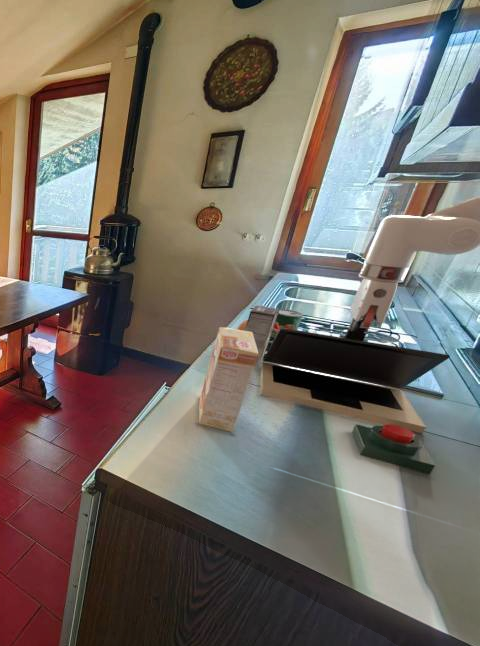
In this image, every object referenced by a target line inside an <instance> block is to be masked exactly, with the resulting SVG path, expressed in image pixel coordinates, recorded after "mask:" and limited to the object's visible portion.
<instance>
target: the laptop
mask: <svg viewBox="0 0 480 646" xmlns="http://www.w3.org/2000/svg"><path fill="white" fill-rule="evenodd" d="M259 388H260V389H259V390H260V391H259V392H260V396H264V397H268V398H273V399H277V400H281V401H284V402H288V403H293V404H298V405H302V406H306V407H310V408H314V409H318V410H323V411H326V412H330V413H334V414H339V415H343V416H348V417H351V418H356V419H359V420H364V421H367V422H373V423H375V424H376V423H377V424H380V425H387V424H390V425H396V426H400V427H403V428H405V429H408V430H410V431H411V432H413V433H419V434H424V432H425V430H426V428H427V426H426V425H425V423H424V422H423V419H421V417H420V416H419V414H418V413H417V411H416V410H415V408H414V406H412V404H411V402H410V400H409V399H408V398H407V396H406V395H405V394H404V392H403V391H402V389H397V388H392V387H387V386H383V385H378V384H373V383H368V382H363V381H358V380H353V379H348V378H343V377H338V376H333V375H328V374H323V373H318V372H313V371H308V370H304V369H299V368H294V367H289V366H284V365H279V364H274V363H269V362H264V361H262V362H261V365H260V386H259Z"/></svg>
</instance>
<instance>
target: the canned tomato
mask: <svg viewBox="0 0 480 646" xmlns="http://www.w3.org/2000/svg"><path fill="white" fill-rule="evenodd" d="M279 309H280V310H279V313H278V315H277V318H276V321H275V324H274V327H273V330H272V333H271V336H270V339H269V340H270V341H274V339H275V337H276V335H277V333H278V332H279V330H280V328H286V329H292V330H298V329H299V327H300V324H301V321H302V319H303V317H304V313H302V312H300V311H296V310H293V309H292V310H291V309H285V308H279ZM298 331H299V330H298ZM268 344H270V345H271V344H272V343H271V342H268Z"/></svg>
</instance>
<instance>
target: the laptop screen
mask: <svg viewBox="0 0 480 646" xmlns="http://www.w3.org/2000/svg"><path fill="white" fill-rule="evenodd" d="M450 356H451V355H450V354H445V353H439V352H434V351H432V352H431V351H427V350H420V349H414V348H410V347H409V348H408V347H404V346H403V347H402V346H395V345H391V344H384V343H377V342H372V341H366V340H363V341H360V340H353V339H347V338H344V337H341V336H334V335H329V334H321V333H316V332H309V331H304V330H292V329H286V328H280V330H279V332H278V333H277V335H276V337H275V339H274V341H273V342H272V344H271V343H270V345H269V348H268V349H267V352H265V354H264V356H263V358H262V362H267V363H272V364H276V365H281V366H286V367H291V368H296V369H301V370H306V371H311V372H316V373H321V374H326V375H331V376H336V377H340V378H345V379H350V380H355V381H360V382H365V383H370V384H375V385H380V386H385V387H390V388H395V389H400V390H402V389H403V388H405V387H407V386H408V385H410V384H411V383H413V382H414V381H416V380H418V379H419V378H420V377H422V376H424V375H425V374H427V373H429V372H430V371H431V370H434V369H435V368H436V367H437V366H440V365H441V364H442V363H444V362H445V361H447V360H448V359H450V358H451V357H450Z"/></svg>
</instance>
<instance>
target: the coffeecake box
mask: <svg viewBox="0 0 480 646" xmlns="http://www.w3.org/2000/svg"><path fill="white" fill-rule="evenodd" d="M213 345H214V346H213V348H212V349H213V350H212V352H211V355H210V360H209V363H208V367H207V370H206V374H205V378H204V381H203V385H202V389H201V392H200V395H199V408H198V409H199V410H198V424H199V425H201V426H204V427H205V426H206V427H210V428H215V429H218V430H221V431H226V432H230V433H234V430H235V428H236V427H235V426H236V424H237V421H238V418H239V416H240V415H239V414H240V411H241V408H242V406H243V403H244V400H245V397H246V395H247V391H248V388H249V385H250V381H251V378H252V375H253V372H254V369H255V365H256V364H255V363H256V360H257V357H258V355H259V354H258V350H257V346H256V343H255V339H254V336H253V333H252V332H249V331H242V330H237V328H236V329H235V328H231V327H224V326H219V327H218V331H217V335H216V338H215V342H214V344H213Z"/></svg>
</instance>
